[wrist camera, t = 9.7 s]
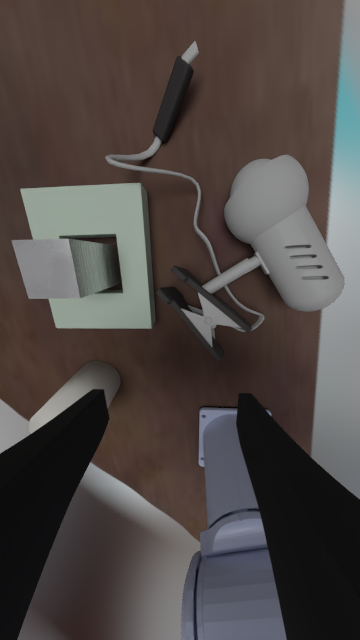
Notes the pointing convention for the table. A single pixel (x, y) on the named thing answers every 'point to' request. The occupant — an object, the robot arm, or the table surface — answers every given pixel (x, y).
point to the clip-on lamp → (249, 231)
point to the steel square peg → (66, 267)
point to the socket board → (100, 221)
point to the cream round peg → (79, 391)
